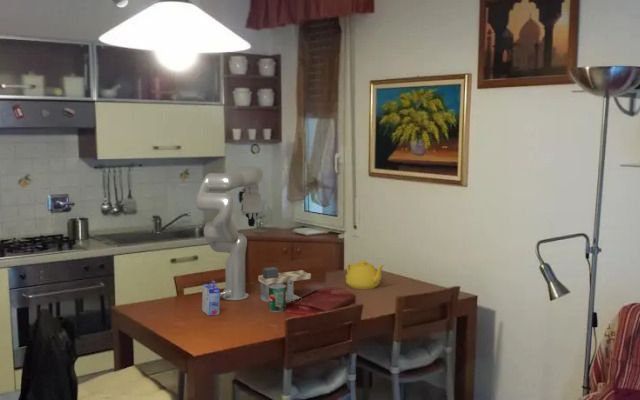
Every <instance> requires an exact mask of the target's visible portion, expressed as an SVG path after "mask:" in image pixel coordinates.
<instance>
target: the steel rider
mask: <svg viewBox="0 0 640 400" xmlns="http://www.w3.org/2000/svg"><path fill="white" fill-rule="evenodd" d="M278 273H279V268H277V267H275V266H271V267H263V268H262V275H263V278H265V279H270V278H277V277H278Z"/></svg>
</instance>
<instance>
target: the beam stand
mask: <svg viewBox="0 0 640 400" xmlns="http://www.w3.org/2000/svg"><path fill="white" fill-rule="evenodd" d="M283 283H284V282H283ZM283 283H275V284H283ZM269 285H270V284H267V285H266V284H264V283H262V282H260V300H261V301H263V302H265V303H269ZM283 285H284V284H283ZM299 298H301V297H300V296H298V295H296V294H294V281H293V280H287V282H286V303H292V302H291V301H293V302H295V301H294V300H296V299H299Z"/></svg>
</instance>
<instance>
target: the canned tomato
mask: <svg viewBox="0 0 640 400" xmlns="http://www.w3.org/2000/svg"><path fill="white" fill-rule="evenodd" d="M286 291H287V284H286V285H285V284H276V283H275V284H269V302H268V310H269V311H270V312H275V313H280V312H281V311H282V312H284V311H283V310H284V308H285V307H286V308H287V302H286ZM282 312H281V313H282Z"/></svg>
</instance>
